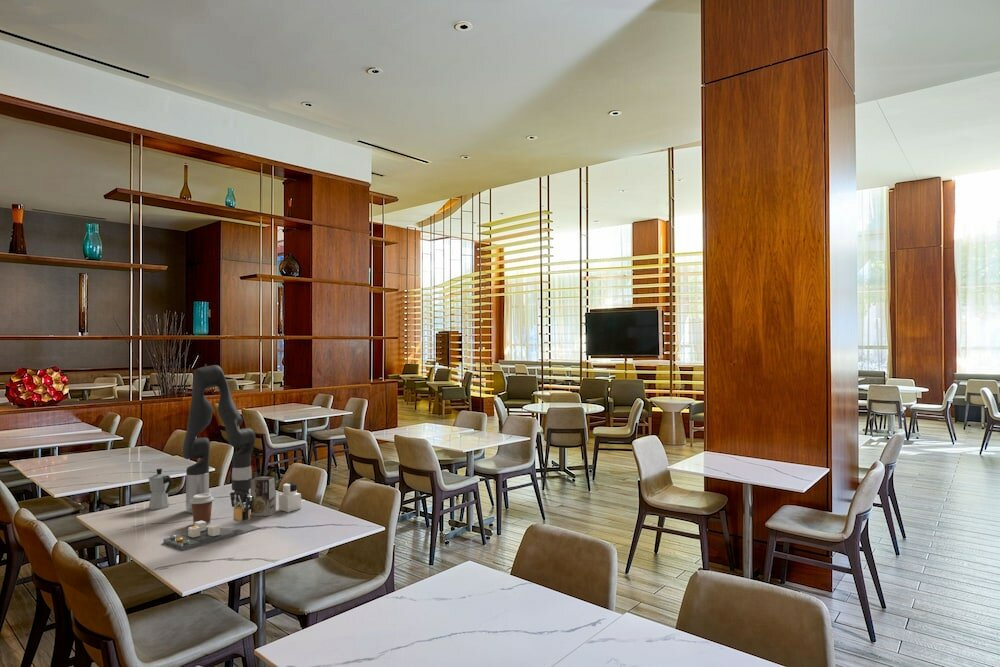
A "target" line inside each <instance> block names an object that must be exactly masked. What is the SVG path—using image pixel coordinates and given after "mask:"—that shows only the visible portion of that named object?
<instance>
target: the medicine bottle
mask: <svg viewBox="0 0 1000 667" xmlns="http://www.w3.org/2000/svg"><path fill="white" fill-rule="evenodd" d="M297 486H298V484H297V483H295V482H286V483H284V484H283V485H282V493H280V494H278V510H279V511H282V512H285V513H290V512H293V511H298V510H300V509H301V508H302V493H300V492H298V487H297Z"/></svg>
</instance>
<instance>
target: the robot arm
mask: <svg viewBox="0 0 1000 667" xmlns="http://www.w3.org/2000/svg"><path fill="white" fill-rule="evenodd" d="M191 386H192V387H191V401H190V405H189V406H190V407H189V412H188V418H187V419H188V420H187V428H186V432H185V436H184V440H183V443H182V456H183V458H184V459H186V460H194V459H195V460H196V459H199V460H198V461H197V462H195V463H194V464H191V465H189V466H188V467H187V468H186V477H185V478H186V481H185V483H186V487H185V488H186V490H185V512H186V513H188V514H193V512H192V504H191V503H190V500H192V499H193V496H194V495H197V494H204V493H209V494H210V453H211V452H210V451H211V444H210V439H209V438H208V437H198V436H199V434H201V433H202V432H203V431H204V430H205V429H206V428H207V427H208V426H209V425H210V424H211V421H212V419H213V418H212V417H213V412H214V407H213V406H212V405H213V404H212V403H211V402H210V401H209V400H208V399H207V397H206V396H205V390H206V389H210V388H215V387H217V388H218V390H219V401H218V406H217V410H218V414H219V417H220V420H221V421H222V423H223V425H224V427H225V429H224V430H225V433H226V439H227V443H228V444H229V445H230V446H232V447H233V448H240V449H239V450H238V451H236V452H234V453H233V455H232V461H231V462H232V463H231V464H232V468H231V490H232V492H230V493H229V496H230V503H231V507H232V508H233V509H234V508H236V507H239V506H242V520H244V521H243V522H245V520H246V521H249V520H248V511H249V510H250V511H251V509H252V505H253V499H254V496H251V494H250V488H251V487H252V479H253V476H252V475H253V474H252V455H253V454H252V453H253V450H254V447H255V442H256V433H255V431H254V430H253V429H252V428H250V427H245V428H238V427H239V426H241V425H242V423H243V417H242V415H241V413H240V411H239V410H238V408H237V406H236V404H235V402H234V399H233V396H232V394H231V391H230V387H229V384H228V381H227V379H226V375H225V372H224V371H223V369H222V368H221V367H220V366H219V365H217V364H213V365H207V366H203V367H199V368H196V369H195V370H194V371H193V375H192V384H191ZM244 506H245V507H244Z"/></svg>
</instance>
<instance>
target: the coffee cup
mask: <svg viewBox="0 0 1000 667" xmlns="http://www.w3.org/2000/svg"><path fill="white" fill-rule="evenodd" d="M213 501H215V498H214V497H213V496H212V494H211V493H210V492H209V493H204V494H197V495H194V496H193V499H192V500H190V503H191V504H192V512H193V513H192V522H193V526H195V522H197V521H201V520H202V521H205V522H206V526H208V525H210V524H211V521H212V520H211V518H212V508H213Z"/></svg>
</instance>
